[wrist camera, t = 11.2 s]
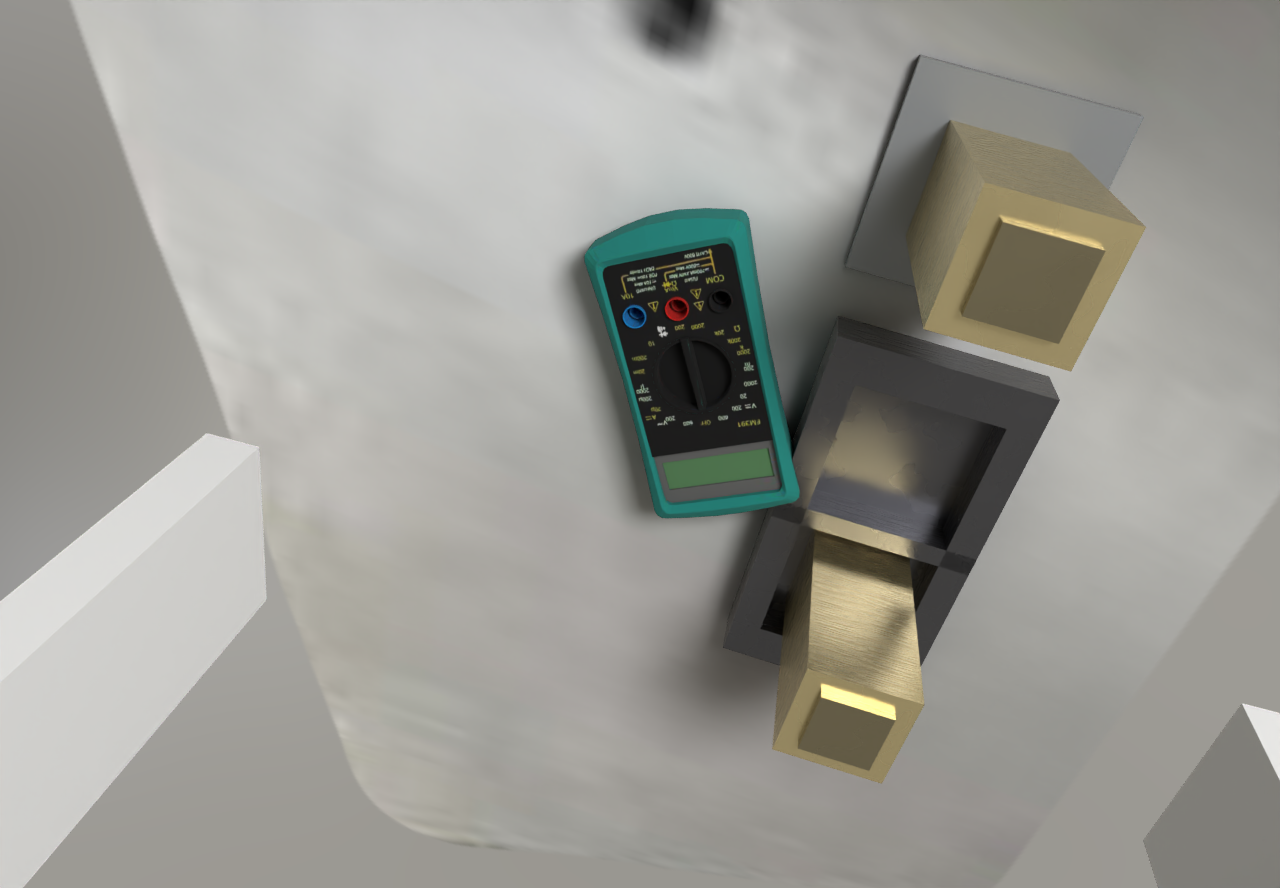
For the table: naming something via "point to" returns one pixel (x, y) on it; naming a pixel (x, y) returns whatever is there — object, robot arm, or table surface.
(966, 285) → the tan rectangular block
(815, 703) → the gold rectangular block
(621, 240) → the digital multimeter
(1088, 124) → the mat
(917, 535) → the dark grey block holder
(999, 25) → the table surface
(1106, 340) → the table surface
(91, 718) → the robot arm
